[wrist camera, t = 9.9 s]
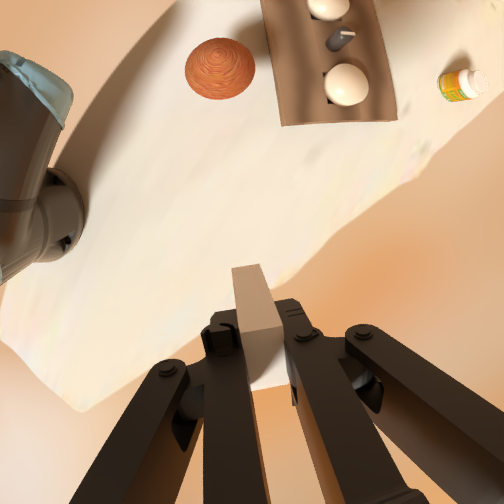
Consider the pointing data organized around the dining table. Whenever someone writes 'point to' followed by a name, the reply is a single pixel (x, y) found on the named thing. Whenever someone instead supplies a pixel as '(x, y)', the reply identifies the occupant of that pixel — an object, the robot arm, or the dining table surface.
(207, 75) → the mushroom
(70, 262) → the dining table surface
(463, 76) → the supplement bottle
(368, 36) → the console
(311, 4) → the knob
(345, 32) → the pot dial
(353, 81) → the knob
